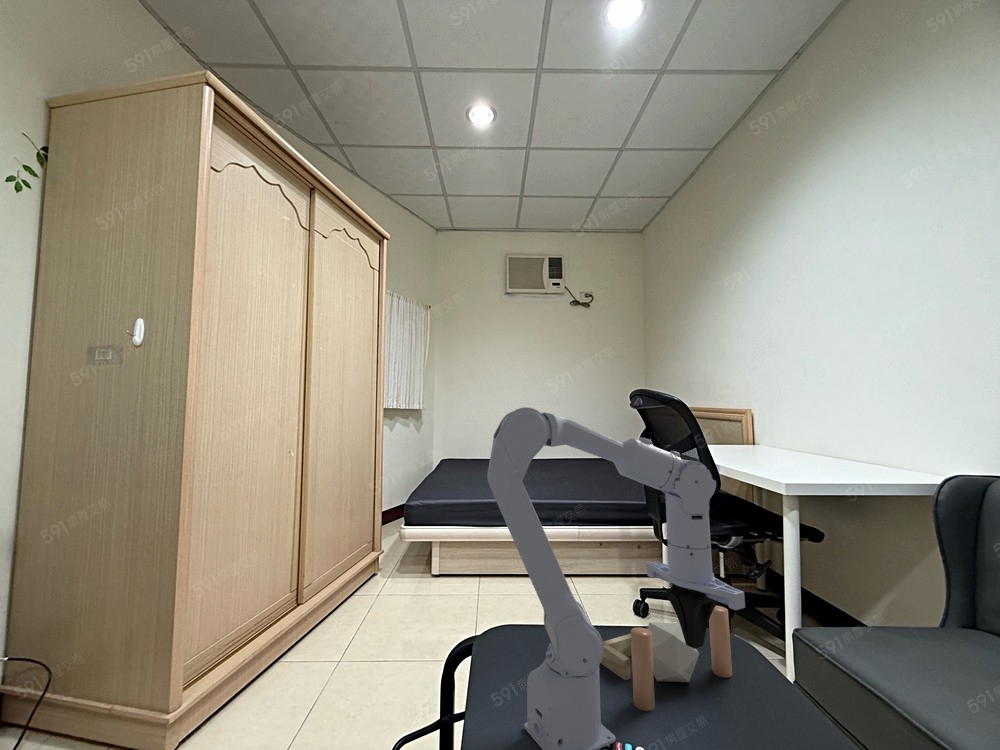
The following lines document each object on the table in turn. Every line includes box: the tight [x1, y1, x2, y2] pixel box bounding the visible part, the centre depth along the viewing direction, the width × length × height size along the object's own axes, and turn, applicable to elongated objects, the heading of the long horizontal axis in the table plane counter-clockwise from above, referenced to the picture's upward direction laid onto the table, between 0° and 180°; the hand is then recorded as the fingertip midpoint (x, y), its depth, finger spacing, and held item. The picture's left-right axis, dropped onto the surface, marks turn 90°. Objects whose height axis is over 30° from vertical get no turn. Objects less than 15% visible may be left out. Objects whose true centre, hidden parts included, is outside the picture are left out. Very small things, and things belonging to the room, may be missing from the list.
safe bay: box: [600, 632, 632, 681], centre depth 74 cm, size 14×6×3 cm, turn 118°
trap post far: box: [708, 605, 733, 679], centre depth 71 cm, size 3×3×10 cm
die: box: [646, 622, 700, 683], centre depth 70 cm, size 8×9×10 cm
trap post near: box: [630, 626, 656, 712], centre depth 63 cm, size 3×3×10 cm
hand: (694, 645), depth 59 cm, fingers closed
